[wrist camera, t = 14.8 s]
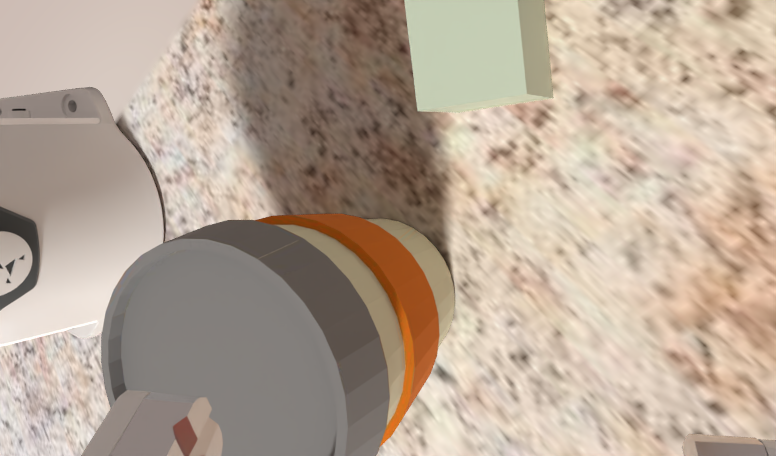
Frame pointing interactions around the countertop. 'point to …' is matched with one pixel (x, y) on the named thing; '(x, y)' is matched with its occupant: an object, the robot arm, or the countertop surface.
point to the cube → (478, 53)
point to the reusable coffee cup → (284, 329)
